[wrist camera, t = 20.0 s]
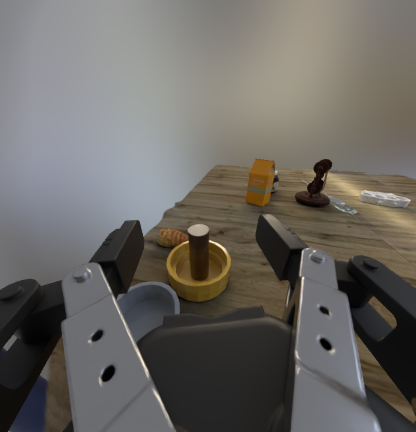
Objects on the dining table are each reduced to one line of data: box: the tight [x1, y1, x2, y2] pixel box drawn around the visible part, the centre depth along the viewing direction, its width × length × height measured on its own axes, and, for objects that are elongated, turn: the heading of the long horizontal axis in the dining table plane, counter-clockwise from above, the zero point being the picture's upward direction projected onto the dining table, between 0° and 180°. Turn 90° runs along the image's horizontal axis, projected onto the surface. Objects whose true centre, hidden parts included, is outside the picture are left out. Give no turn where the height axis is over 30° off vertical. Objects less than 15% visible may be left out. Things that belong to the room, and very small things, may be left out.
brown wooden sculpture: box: [295, 159, 332, 208], centre depth 74 cm, size 15×15×20 cm
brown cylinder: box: [188, 224, 209, 281], centre depth 36 cm, size 4×4×13 cm
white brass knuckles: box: [358, 190, 410, 208], centre depth 79 cm, size 3×18×15 cm
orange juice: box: [246, 159, 275, 207], centre depth 74 cm, size 8×9×20 cm
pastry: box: [157, 229, 188, 247], centre depth 50 cm, size 9×7×4 cm
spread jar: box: [271, 171, 279, 193], centre depth 90 cm, size 12×11×12 cm
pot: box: [116, 281, 181, 343], centre depth 27 cm, size 13×13×5 cm
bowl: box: [166, 240, 231, 302], centre depth 38 cm, size 15×15×6 cm
